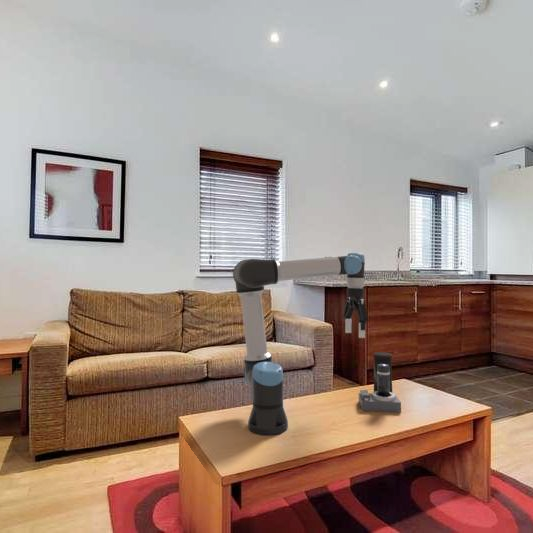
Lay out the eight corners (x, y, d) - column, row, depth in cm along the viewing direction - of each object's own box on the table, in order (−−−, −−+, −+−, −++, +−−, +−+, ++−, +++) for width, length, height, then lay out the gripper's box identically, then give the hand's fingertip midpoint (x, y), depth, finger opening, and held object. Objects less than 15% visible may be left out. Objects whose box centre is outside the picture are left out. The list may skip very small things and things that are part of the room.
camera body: (362, 410, 159) (362, 396, 159) (358, 401, 170) (358, 388, 170) (401, 412, 157) (400, 397, 157) (395, 403, 168) (394, 389, 168)
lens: (387, 400, 160) (387, 367, 160) (375, 398, 163) (375, 365, 163) (391, 397, 164) (391, 364, 164) (380, 395, 167) (379, 363, 167)
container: (370, 392, 184) (370, 351, 184) (388, 391, 185) (387, 350, 185) (377, 397, 175) (377, 355, 176) (396, 397, 176) (395, 354, 176)
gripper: (377, 288, 156) (376, 339, 156) (351, 286, 181) (350, 330, 180) (360, 288, 155) (359, 340, 154) (336, 286, 179) (336, 331, 179)
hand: (354, 335), depth 167 cm, fingers open, 13 cm apart
